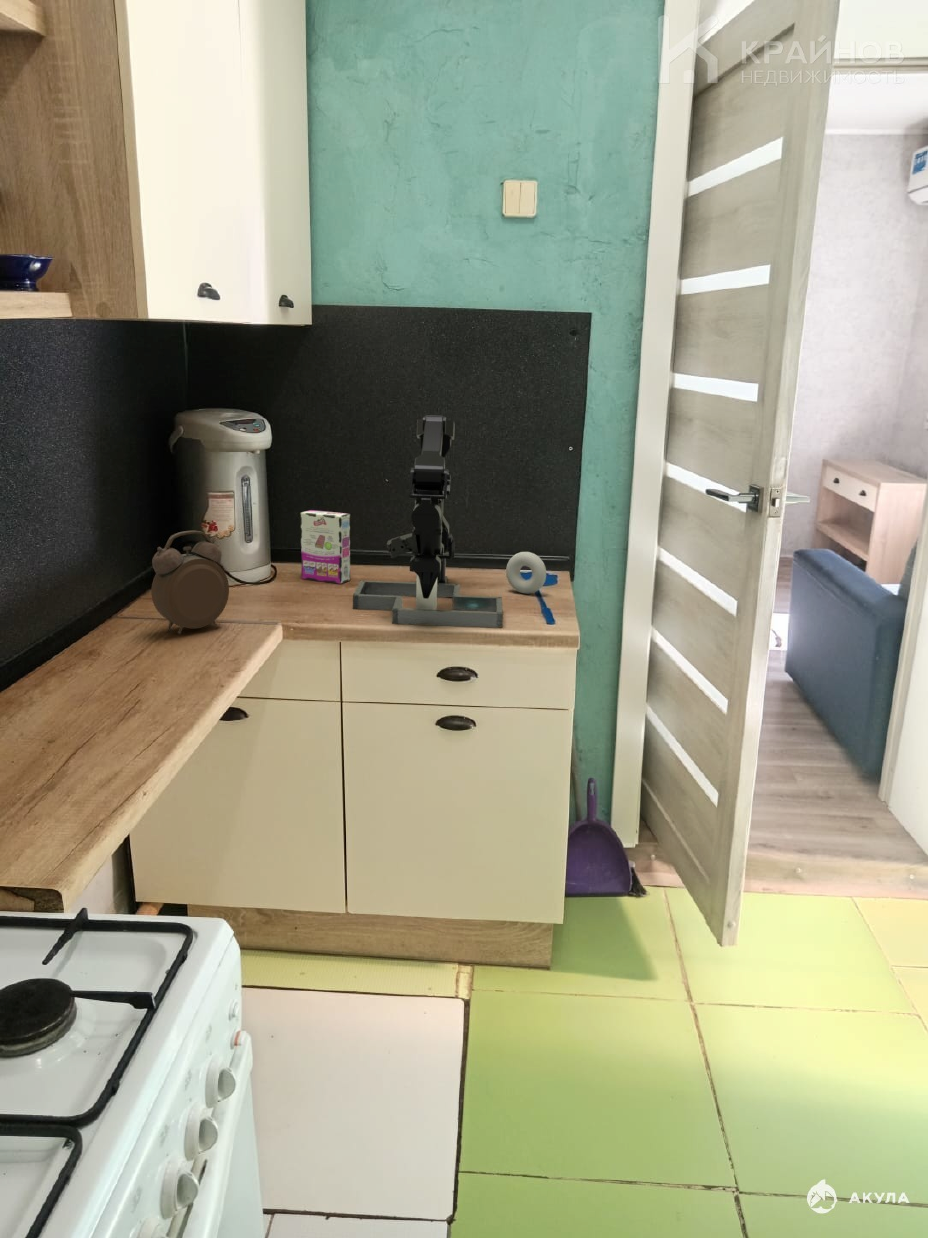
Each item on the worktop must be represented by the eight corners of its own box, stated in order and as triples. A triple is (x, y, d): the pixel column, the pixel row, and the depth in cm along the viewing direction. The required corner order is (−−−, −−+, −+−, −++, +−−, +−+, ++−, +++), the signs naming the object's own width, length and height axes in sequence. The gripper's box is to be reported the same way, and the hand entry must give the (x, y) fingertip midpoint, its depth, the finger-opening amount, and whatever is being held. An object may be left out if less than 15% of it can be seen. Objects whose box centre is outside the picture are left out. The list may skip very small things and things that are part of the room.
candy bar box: (351, 580, 238) (351, 513, 234) (341, 584, 234) (341, 516, 229) (311, 574, 242) (310, 508, 238) (300, 579, 238) (299, 511, 233)
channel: (360, 592, 227) (360, 580, 226) (500, 598, 227) (501, 585, 226) (346, 621, 205) (346, 608, 204) (502, 627, 204) (502, 613, 203)
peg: (416, 605, 213) (417, 565, 210) (437, 606, 212) (438, 566, 210) (415, 611, 208) (415, 570, 206) (436, 612, 208) (437, 571, 206)
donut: (547, 594, 231) (549, 553, 228) (542, 598, 228) (544, 555, 225) (508, 588, 235) (510, 547, 232) (502, 591, 232) (504, 550, 229)
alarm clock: (213, 619, 203) (209, 523, 198) (232, 627, 199) (229, 529, 193) (148, 632, 194) (142, 532, 188) (166, 641, 189) (160, 538, 183)
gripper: (393, 513, 214) (392, 583, 219) (385, 530, 196) (384, 605, 201) (444, 515, 214) (442, 585, 218) (440, 532, 196) (438, 607, 200)
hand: (426, 595), depth 209 cm, fingers closed on peg, 4 cm apart
